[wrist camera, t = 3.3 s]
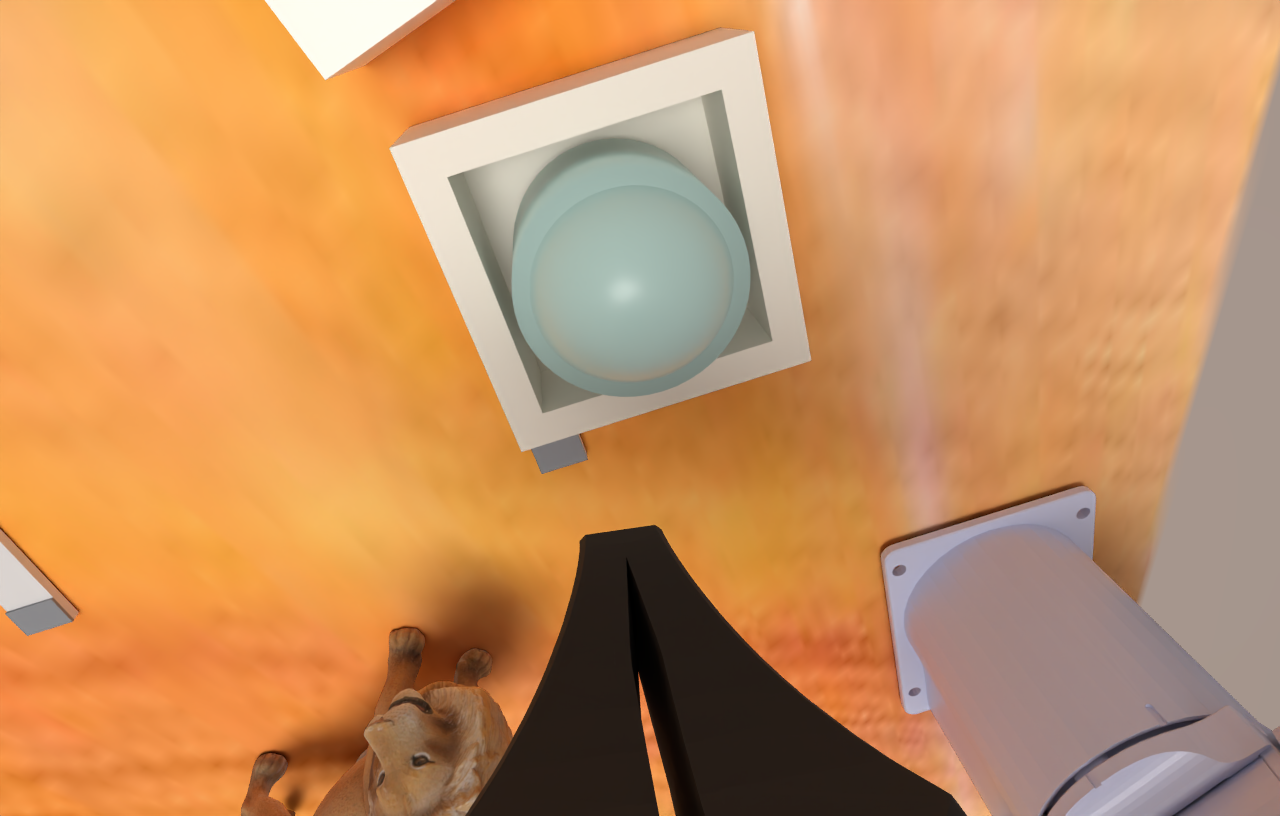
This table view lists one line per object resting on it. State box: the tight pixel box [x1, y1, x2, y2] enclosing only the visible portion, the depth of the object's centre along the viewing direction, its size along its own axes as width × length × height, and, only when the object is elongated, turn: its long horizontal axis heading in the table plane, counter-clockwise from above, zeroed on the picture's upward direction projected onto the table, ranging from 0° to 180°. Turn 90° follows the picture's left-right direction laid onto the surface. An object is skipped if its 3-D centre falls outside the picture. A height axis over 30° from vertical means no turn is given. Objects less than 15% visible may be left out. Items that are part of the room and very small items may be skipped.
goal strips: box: [0, 434, 588, 636], centre depth 21 cm, size 9×18×1 cm, turn 106°
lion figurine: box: [241, 628, 513, 816], centre depth 23 cm, size 15×5×9 cm, turn 143°
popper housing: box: [390, 28, 811, 452], centre depth 19 cm, size 8×8×3 cm
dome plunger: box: [512, 138, 750, 397], centre depth 17 cm, size 5×5×5 cm
